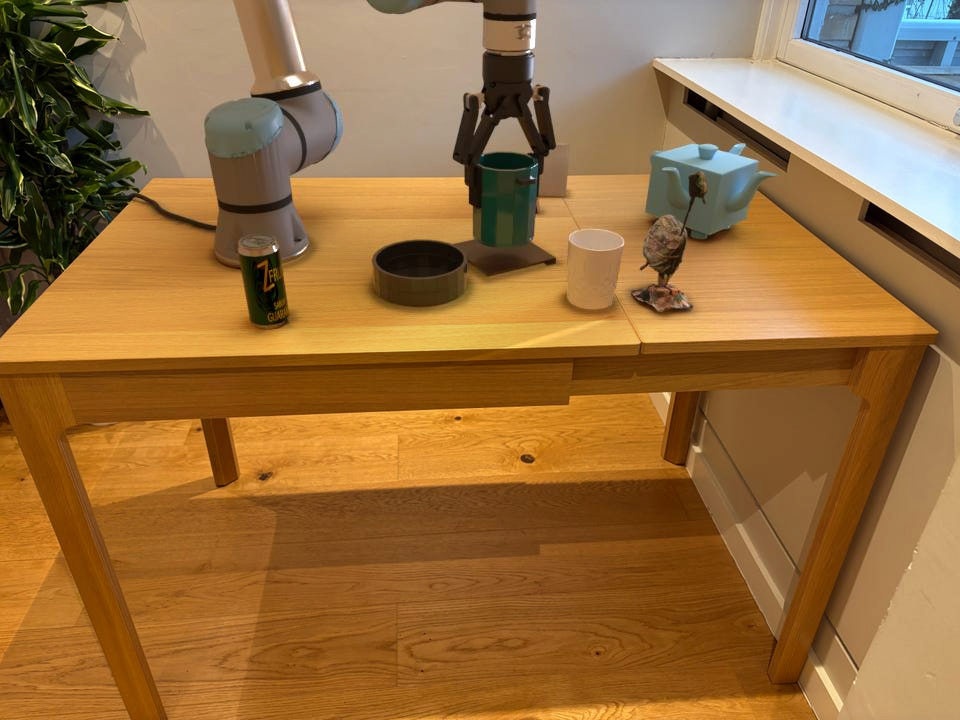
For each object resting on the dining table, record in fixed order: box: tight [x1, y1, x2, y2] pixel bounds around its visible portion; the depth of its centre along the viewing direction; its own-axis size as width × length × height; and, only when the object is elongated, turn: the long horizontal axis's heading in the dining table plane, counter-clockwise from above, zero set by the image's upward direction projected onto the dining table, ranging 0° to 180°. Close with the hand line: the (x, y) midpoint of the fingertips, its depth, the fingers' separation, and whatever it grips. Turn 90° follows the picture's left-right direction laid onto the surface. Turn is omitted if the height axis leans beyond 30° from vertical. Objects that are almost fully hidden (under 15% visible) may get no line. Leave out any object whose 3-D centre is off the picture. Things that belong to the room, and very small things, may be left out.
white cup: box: [566, 228, 625, 310], centre depth 105 cm, size 8×8×10 cm
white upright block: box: [539, 143, 570, 198], centre depth 145 cm, size 4×7×10 cm, turn 86°
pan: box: [371, 238, 469, 308], centre depth 109 cm, size 14×14×5 cm
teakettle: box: [644, 142, 778, 240], centre depth 130 cm, size 19×19×15 cm
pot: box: [472, 150, 538, 248], centre depth 115 cm, size 13×10×12 cm
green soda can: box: [238, 234, 290, 330], centre depth 98 cm, size 5×5×12 cm
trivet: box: [452, 239, 557, 278], centre depth 120 cm, size 13×13×1 cm
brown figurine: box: [630, 171, 708, 313], centre depth 104 cm, size 8×11×20 cm
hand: (504, 200), depth 115 cm, fingers closed on pot, 10 cm apart
